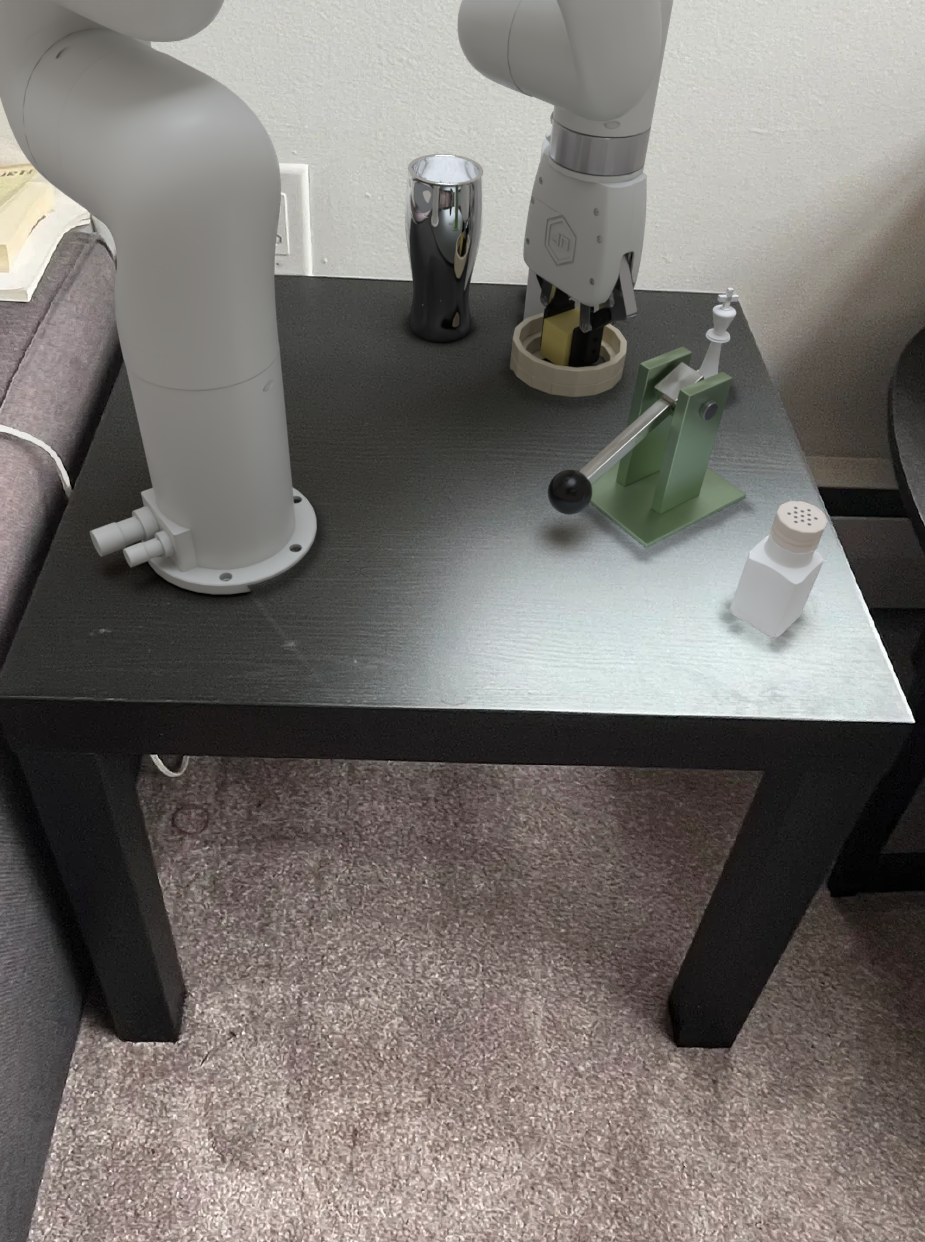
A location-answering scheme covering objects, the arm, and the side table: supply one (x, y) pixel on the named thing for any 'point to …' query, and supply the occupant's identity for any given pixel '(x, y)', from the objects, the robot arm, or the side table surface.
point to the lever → (619, 445)
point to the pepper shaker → (781, 570)
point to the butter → (559, 336)
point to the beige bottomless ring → (564, 377)
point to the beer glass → (442, 242)
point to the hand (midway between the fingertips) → (569, 353)
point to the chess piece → (718, 333)
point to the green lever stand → (669, 459)
